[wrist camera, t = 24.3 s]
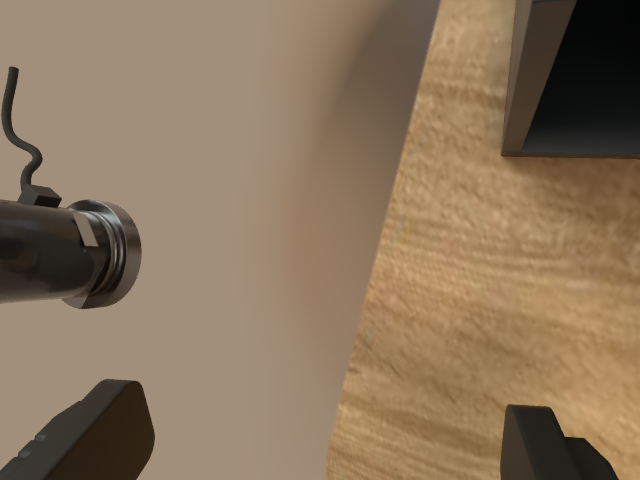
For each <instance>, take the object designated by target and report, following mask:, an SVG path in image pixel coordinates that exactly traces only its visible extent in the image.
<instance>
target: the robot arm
mask: <svg viewBox="0 0 640 480" xmlns="http://www.w3.org/2000/svg"><path fill="white" fill-rule="evenodd" d="M18 72H19V69H18V68H15V67H9V73H8V79H7V85H6V89H5V93H4V98H3V104H2V125H3V129H4V132H5V135H6V137H7V138H8V139H9V141H10V142H11V143H13V144H14V145H16V146H17V147H19V148H21V149H23V150H25V151H27V152H29V153H30V154H31V155H32V157H33V159H32V161H31V162H30V163H29V164H28V165H27V166H26V167H25V168H24V170H23V172H22V175H21V181H20V183H21V191H22V193H21V195H20V197H19V199H18V201H17V202H16V201H8V200H0V304H2V303H13V302H25V301H35V300H48V299H61V298H72V297H74V298H83V297H90V296H93V295H95V294H97V293H98V292H100V291H101V290H102V289H103V288H104V287H105V286H106V285H107V284H108V282H109V281H110V279H111V277H112V275H113V272H114V269H115V266H116V260H117V244H116V239H115V236H114V233H113V230H112V228H111V227H110V225H109V224H108V222H107V221H106V220H105V219H104V218H103V217H102V216H100V215H99V214H97V213H94V212H91V211H83V210H79V211H75V210H74V209H70V208H61V207H58V206H59V204H60V202H61V200H62V198H61V197H59V196H58V195H57V194H56V193H55V192H54V191H53V190H52V189H51V188H48V187H42V186H36V185H31V177H32V174H33V172H34V171H35V170H36V169H37V168H38V167H39V166H40V165H41V163H42V159H43V158H42V155H41V153H40V151H39V150H38V149H37V148H36V147H34V146H33V145H31V144H29V143H27V142H25V141H23V140H21V139H20V138H18V137H17V136H16V135H15V133H14V131H13V128H12V122H11V110H12V104H13V99H14V94H15V89H16V84H17V79H18ZM154 440H155V434H154V429H153V425H152V421H151V417H150V413H149V410H148V406H147V403H146V398H145V395H144V391H143V388H142V385H141V384H140V383H139V382H138V381H130V380H129V381H128V380H113V379H105V380H103V381H101V382H100V383H98V384H97V385H96V386H95V387H94V388H93V389H92V390H91V391H90V393H89V394H88V395H87V396H86V397H85V398H84V399H83V400H82V401H78V402H77V403H75V404H74V405H72V406H70V407H69V408H67V409H66V410H64V411H63V412H61V413H60V414H58V415H57V416H55V417H54V418H53V419H52V420H51V421H50V422H49V423H48V424H47V425H46V426H45V427H44V428H43V429H42V430H41V431H40V432H39V433H38V434H37V435H36V436H35V439H34V440H31V441H30V442H29V443H28V444H27V445H26V446H25V447H24V448H23V449H22V450H21V451H20V452H19V453H18V456H17V457H14V458H13V459H12V460H11V461H10V462H9V463H7V465H5V467H3V468H2V470H0V480H136V479H137V478H138V476H139V474H140V473H141V471H142V470H143V468H144V467H145V465H146V464H147V462H148V460H149V459H150V456H151V453H152V451H153V447H154ZM500 472H501V480H619V479H618V477H617V476H616V474H615V472H614V470H613V468H612V466H611V465H610V463H609V462H608V461H607V460H606V459H605V458H604V457H603V456H602V455H601V454H600V453H599V452H598V451H597V450H596V449H595V448H594V447H593V446H592V445H591V444H590V443H589V442H588V441H587V440H586V439H585V438H573V437H565V436H564V434H563V432H562V430H561V427H560V425H559V423H558V421H557V419H556V417H555V414H554V412H553V411H552V409H551V408H550V407H545V406H528V405H511V404H509V405H507V407H506V412H505V422H504V432H503V442H502V452H501V463H500Z"/></svg>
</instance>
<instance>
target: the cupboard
mask: <svg viewBox="0 0 640 480" xmlns="http://www.w3.org/2000/svg"><path fill="white" fill-rule="evenodd" d="M501 156H530V157H576V158H621V159H640V0H516V8H515V18H514V28H513V38H512V48H511V58H510V68H509V78H508V88H507V98H506V108H505V118H504V128H503V138H502V148H501Z"/></svg>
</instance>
